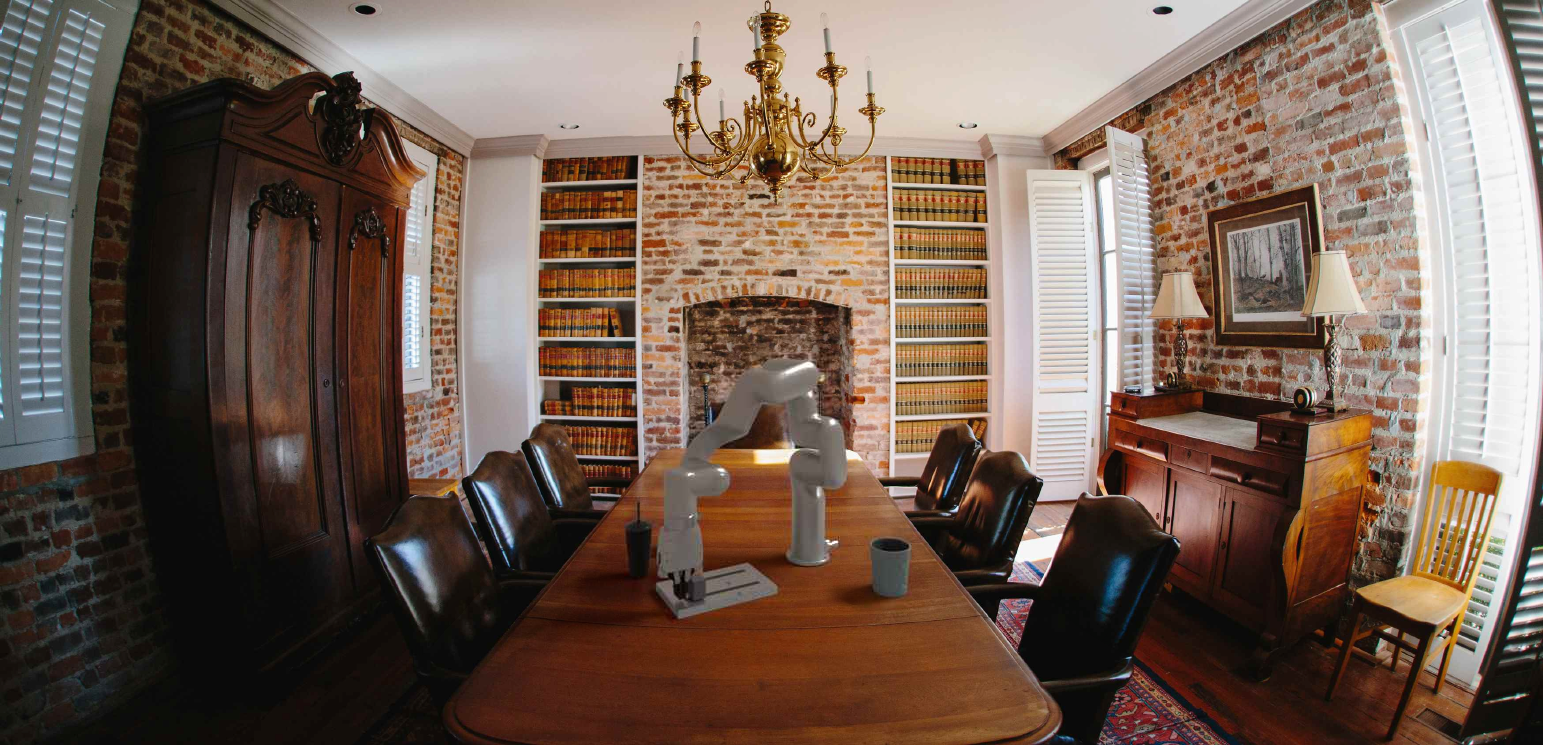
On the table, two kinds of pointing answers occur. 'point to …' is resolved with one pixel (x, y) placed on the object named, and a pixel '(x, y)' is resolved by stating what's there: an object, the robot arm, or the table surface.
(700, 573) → the fader
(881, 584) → the grey tapered pot
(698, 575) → the fader
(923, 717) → the table surface
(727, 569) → the console
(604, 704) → the table surface
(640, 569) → the drinking cup
